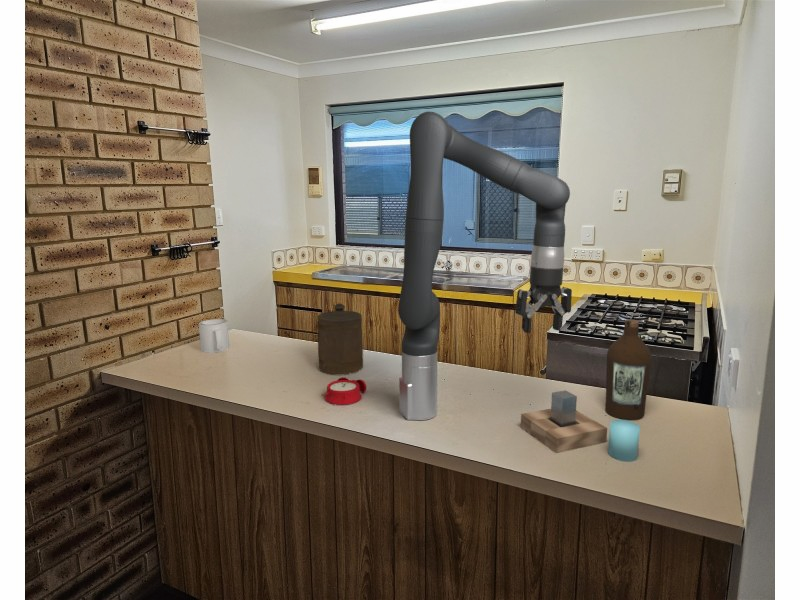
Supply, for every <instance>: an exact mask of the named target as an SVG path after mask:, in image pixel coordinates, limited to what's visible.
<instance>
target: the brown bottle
mask: <svg viewBox="0 0 800 600" xmlns="http://www.w3.org/2000/svg"><path fill="white" fill-rule="evenodd" d="M639 324H640V321H638V320H636V319H629V318H628V319H626V320H624V325H623V326H624V327H623V334H622V335H621V336H620V337H619V338H618V339H616V340H615V341H613V342H612V343H611V345H610V346H609V348H608V350H607V353H606V373H605V375H606V376H605V377H606V378H605V380H606V384H605V405H604V407H605V408H604V409H605V412H606V413H607V414H608V415H610V417H614V418H617V419H618V420H628V421H637V420H641V419H643V418H644V416H645V411H646V404H647V403H646V402H647V395H648V387H649V381H650V376H651V369H652V361H653V357H652V353H651V349H650V348H649V347H648V345H646V343H645V342H644V341H643V340H642V338H641V337H640V336H639V331H640V329H639V328H640V326H639Z"/></svg>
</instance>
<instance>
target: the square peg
mask: <svg viewBox="0 0 800 600" xmlns="http://www.w3.org/2000/svg"><path fill="white" fill-rule="evenodd" d="M577 397H578V395H576V394H574V393H572V392H570V391H567V390H566V389H565V390H559V391H555V392H551V403H550V404H551V405H550V409H551V420H550V421H551V422H553V423H554V424H556V425H558V426H559V427H566V426H571V425H575V418H576V410H577V403H578V401H577V399H578V398H577Z"/></svg>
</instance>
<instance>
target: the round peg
mask: <svg viewBox="0 0 800 600" xmlns="http://www.w3.org/2000/svg"><path fill="white" fill-rule="evenodd" d="M609 422H610V423H609V434H608V446H607V454H608V456H609V457H611V458H613V459H614V460H616V461H619V462H624V463H625V462H626V463H628V462H629V463H631V462H635V461H637V460H638V453H639V446H640V445H639V442H640V433H641V427H640V425H639V424H638V423H636V422H633V421H632V420H625V419H613V420H611V421H609Z"/></svg>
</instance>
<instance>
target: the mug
mask: <svg viewBox="0 0 800 600" xmlns="http://www.w3.org/2000/svg"><path fill="white" fill-rule="evenodd" d="M228 327H229V325H228V320H227V319H226V318H225V319H223V318H212V319H205V320H201V321H200V322H198V331H199V341H200V342H199V344H200V351H202V352H201V353H203V352H205V354H215V353H214V352H219V353H221V352H220V351H224V350H226V349H228V348H229V349H230V338H229V328H228ZM229 349H228V350H229ZM226 351H227V350H226ZM224 352H225V351H224Z"/></svg>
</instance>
